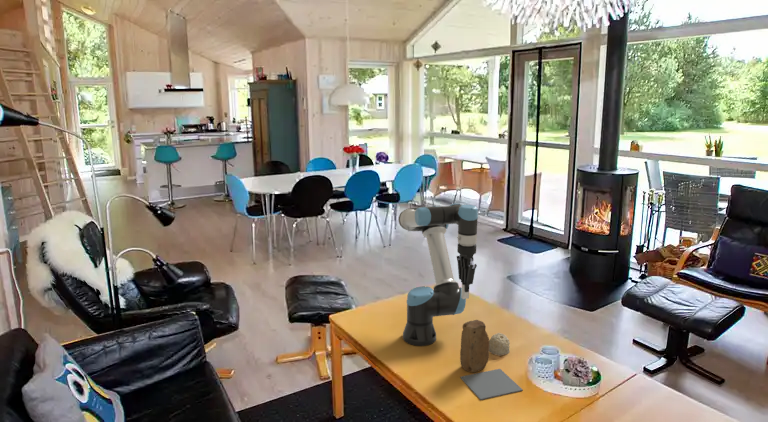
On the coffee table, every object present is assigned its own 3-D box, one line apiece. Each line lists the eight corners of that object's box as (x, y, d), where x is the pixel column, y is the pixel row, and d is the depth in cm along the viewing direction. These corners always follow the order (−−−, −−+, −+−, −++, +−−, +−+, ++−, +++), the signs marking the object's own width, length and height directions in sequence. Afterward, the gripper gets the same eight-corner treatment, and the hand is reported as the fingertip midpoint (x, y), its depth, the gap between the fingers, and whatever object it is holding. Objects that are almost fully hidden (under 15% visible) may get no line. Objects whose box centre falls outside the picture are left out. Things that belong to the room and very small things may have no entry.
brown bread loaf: (468, 375, 211) (470, 329, 206) (458, 366, 217) (459, 321, 212) (490, 368, 215) (493, 323, 211) (479, 360, 222) (481, 316, 217)
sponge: (509, 359, 231) (512, 336, 234) (508, 356, 222) (510, 332, 226) (488, 355, 234) (491, 332, 237) (485, 352, 225) (489, 329, 229)
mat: (460, 377, 209) (460, 376, 209) (500, 369, 215) (500, 368, 215) (480, 400, 194) (480, 398, 194) (522, 390, 200) (522, 389, 200)
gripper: (451, 240, 218) (449, 293, 224) (466, 249, 206) (464, 305, 212) (467, 238, 221) (465, 291, 226) (483, 247, 209) (480, 302, 214)
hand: (465, 298), depth 219 cm, fingers closed
